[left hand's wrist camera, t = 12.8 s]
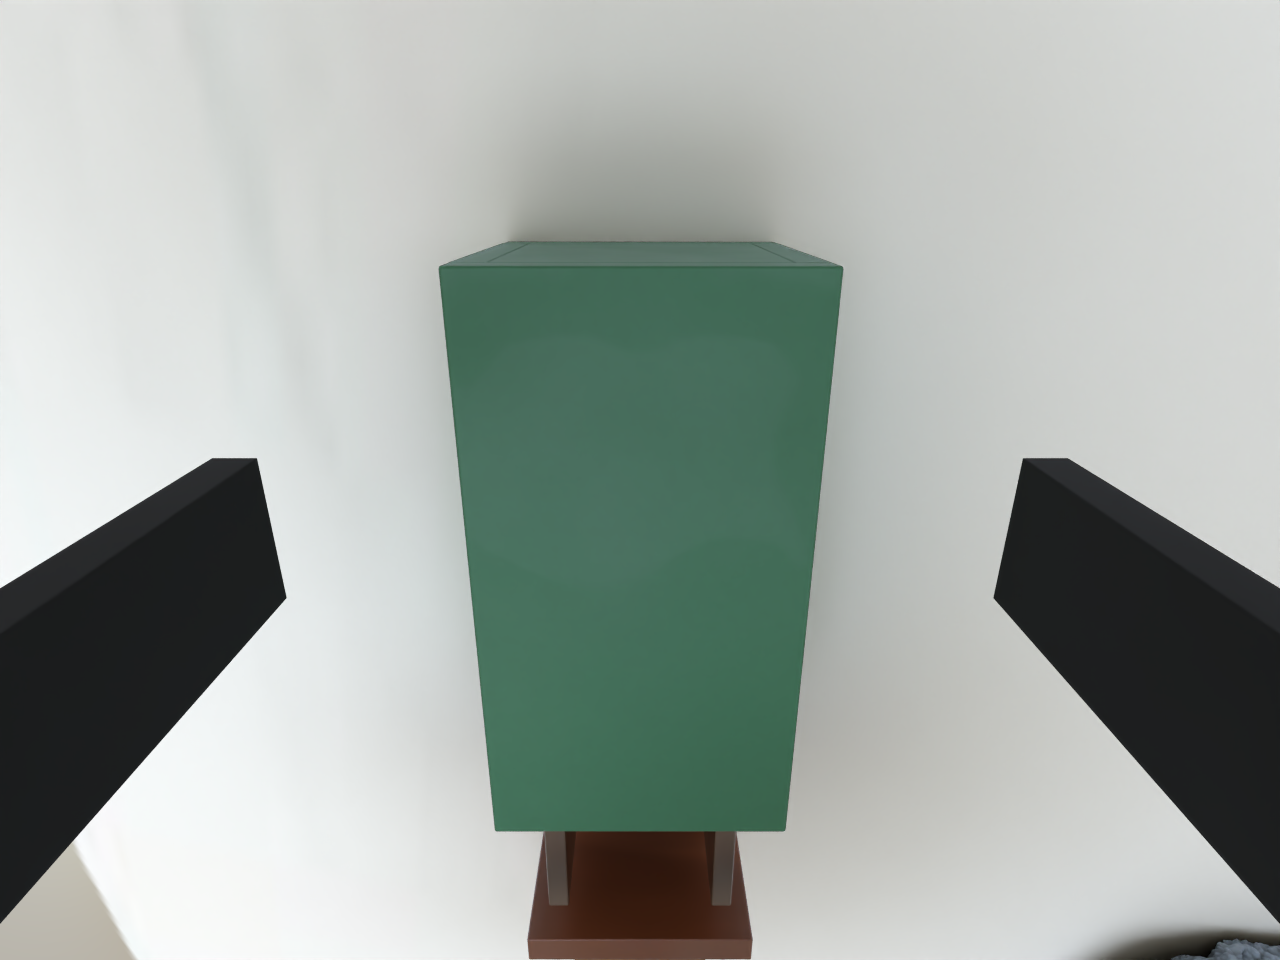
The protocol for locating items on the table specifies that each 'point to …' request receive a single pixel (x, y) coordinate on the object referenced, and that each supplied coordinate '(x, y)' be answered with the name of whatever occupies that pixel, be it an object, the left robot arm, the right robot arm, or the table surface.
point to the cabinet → (640, 522)
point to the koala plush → (1238, 951)
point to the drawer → (639, 897)
